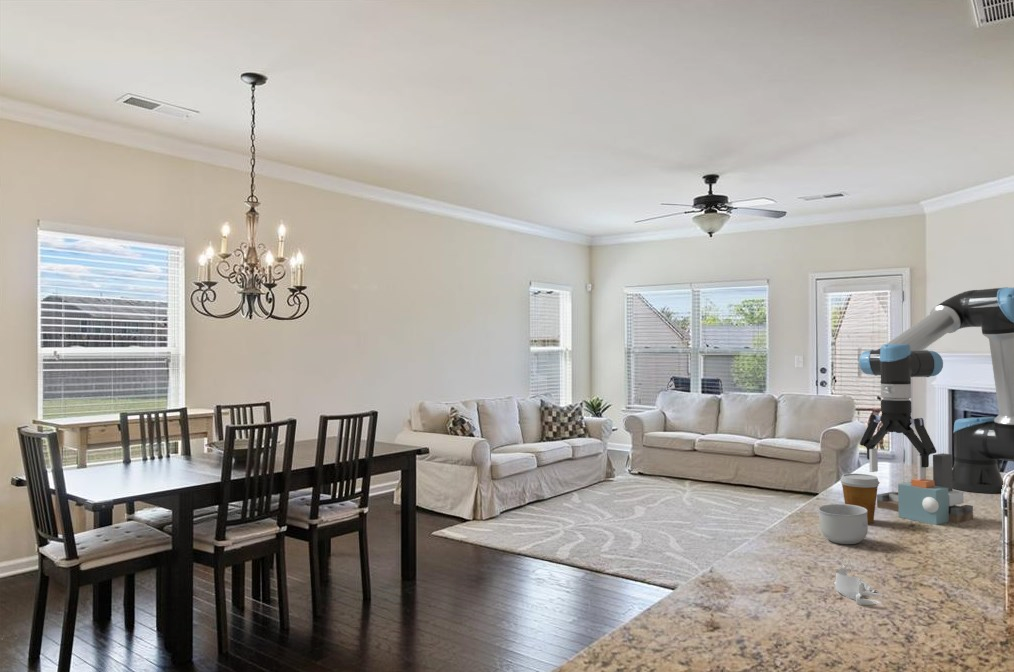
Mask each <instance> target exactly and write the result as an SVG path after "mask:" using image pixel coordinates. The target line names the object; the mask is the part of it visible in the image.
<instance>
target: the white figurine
mask: <svg viewBox="0 0 1014 672" xmlns="http://www.w3.org/2000/svg"><path fill="white" fill-rule="evenodd" d="M841 566H842V568H841V569H839V570H837V571H835V581H834V582H833V584H834V585H835V590H836V592H839V594H840V595H842V596H843V597H846V598H848V599H850V600H854V601H856V604H857V605H864V606H867V605H870V606H871V605H876V603H877V604H882V602H881V601H879V600H876V599H875V600H874V599H867V598H862V596H870V597H879V598H880V597H881V598H883V594H881V593H878V590H877V589H872V587H871V586H870V585H869V584H868V583H866V582H865V581H862V580H861V578H859V577H857V576H855V575H854V576H850V575H848V573H847V569H846V567H847V566H846V565H844V564H843V563H842V565H841ZM864 590H865V591H864ZM876 592H877V593H876Z"/></svg>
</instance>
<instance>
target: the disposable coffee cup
mask: <svg viewBox="0 0 1014 672" xmlns="http://www.w3.org/2000/svg"><path fill="white" fill-rule="evenodd" d="M839 481H840V484H841V485H842V486H841V487H842V493H843V500H844V504H849V505H856V506H860V507H863V508H866V509H867V511H868V512H867V519H868V525H869V524H874V519H875V513H876V512H875V511H876V505H877V495H878V487H879V484H880V481H879V479H878V477H877V476H875V475H872V474H865V473H864V474H863V473H844V474H841V478H840V479H839Z"/></svg>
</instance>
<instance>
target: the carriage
mask: <svg viewBox="0 0 1014 672" xmlns="http://www.w3.org/2000/svg"><path fill="white" fill-rule="evenodd" d="M952 469H953V454H952V453H951V454H950V453H945V452H943V453H935V454H932V477H933V478H932V480H934V484H935V486H939V487H946V488H948V503H949V506H953V505H957V506H959V505H962V504H964V503H965V500H964V498H965V496H964V491H961V490H954V488H952Z"/></svg>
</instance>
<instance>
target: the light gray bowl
mask: <svg viewBox="0 0 1014 672" xmlns="http://www.w3.org/2000/svg"><path fill="white" fill-rule="evenodd" d="M817 510H818V518H819V527H820V532H821V534H822V535H823V536H824V537H825V538H827V539H828V541H830V542H832V543H835V544H840V545H855V544H859V543H860V542H861V541H863V540H864V539H866V537H867V535H868V532H869V531H868V529H869V528H868V526H869V524H868V519H867V512H868V511H867V509H866V508H863V507H860V506H856V505H849V504H845V503H833V502H827V503H826V504H824V505H821V506H819V507H818V509H817Z"/></svg>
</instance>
